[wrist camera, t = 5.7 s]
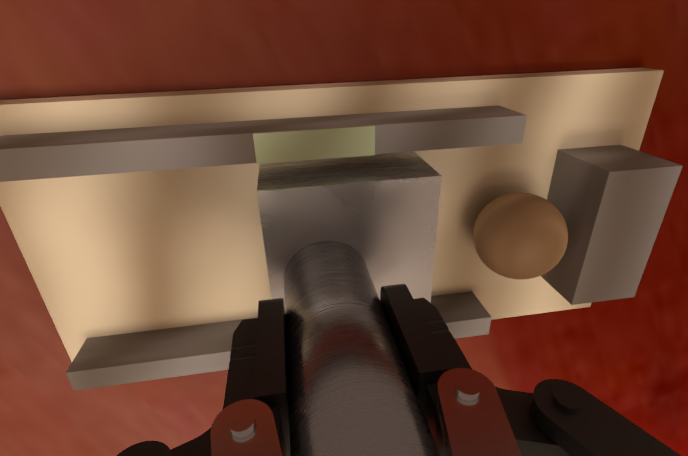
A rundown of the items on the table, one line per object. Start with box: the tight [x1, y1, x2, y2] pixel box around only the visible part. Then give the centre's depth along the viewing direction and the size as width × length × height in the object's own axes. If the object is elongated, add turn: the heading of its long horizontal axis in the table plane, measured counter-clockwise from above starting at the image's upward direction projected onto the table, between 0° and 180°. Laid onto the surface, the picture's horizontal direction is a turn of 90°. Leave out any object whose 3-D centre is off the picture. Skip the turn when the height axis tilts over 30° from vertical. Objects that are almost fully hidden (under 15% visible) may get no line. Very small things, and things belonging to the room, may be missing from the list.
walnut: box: [473, 192, 568, 280], centre depth 17 cm, size 4×4×4 cm
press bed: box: [0, 68, 682, 391], centre depth 17 cm, size 26×12×4 cm, turn 91°
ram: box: [257, 151, 442, 456], centre depth 12 cm, size 6×7×12 cm
